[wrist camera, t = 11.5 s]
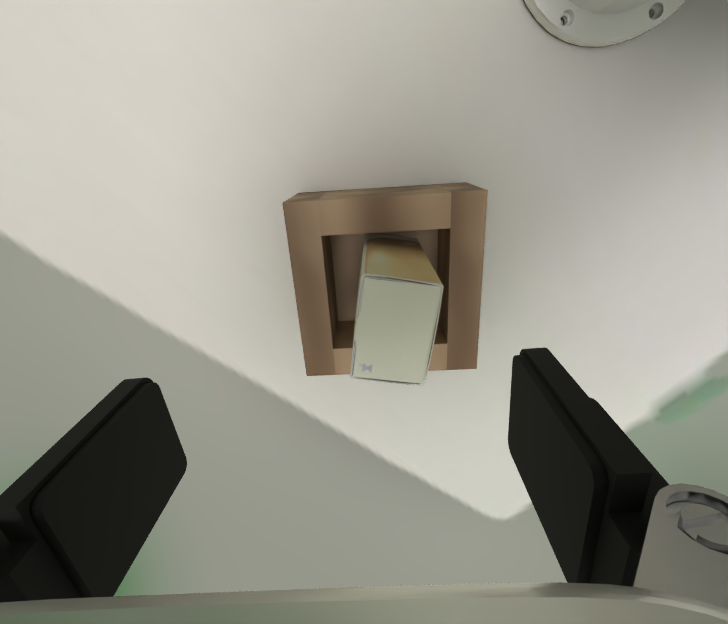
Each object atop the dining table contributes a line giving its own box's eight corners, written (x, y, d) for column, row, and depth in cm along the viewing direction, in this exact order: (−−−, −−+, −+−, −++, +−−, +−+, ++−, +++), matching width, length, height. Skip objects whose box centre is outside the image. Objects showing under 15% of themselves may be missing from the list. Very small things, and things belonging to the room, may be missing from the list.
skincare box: (406, 308, 33) (425, 392, 21) (356, 303, 33) (348, 384, 21) (419, 234, 30) (448, 284, 19) (364, 227, 30) (360, 274, 19)
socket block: (465, 182, 30) (487, 190, 24) (459, 333, 35) (476, 368, 29) (298, 193, 30) (282, 202, 25) (316, 340, 35) (306, 376, 30)
